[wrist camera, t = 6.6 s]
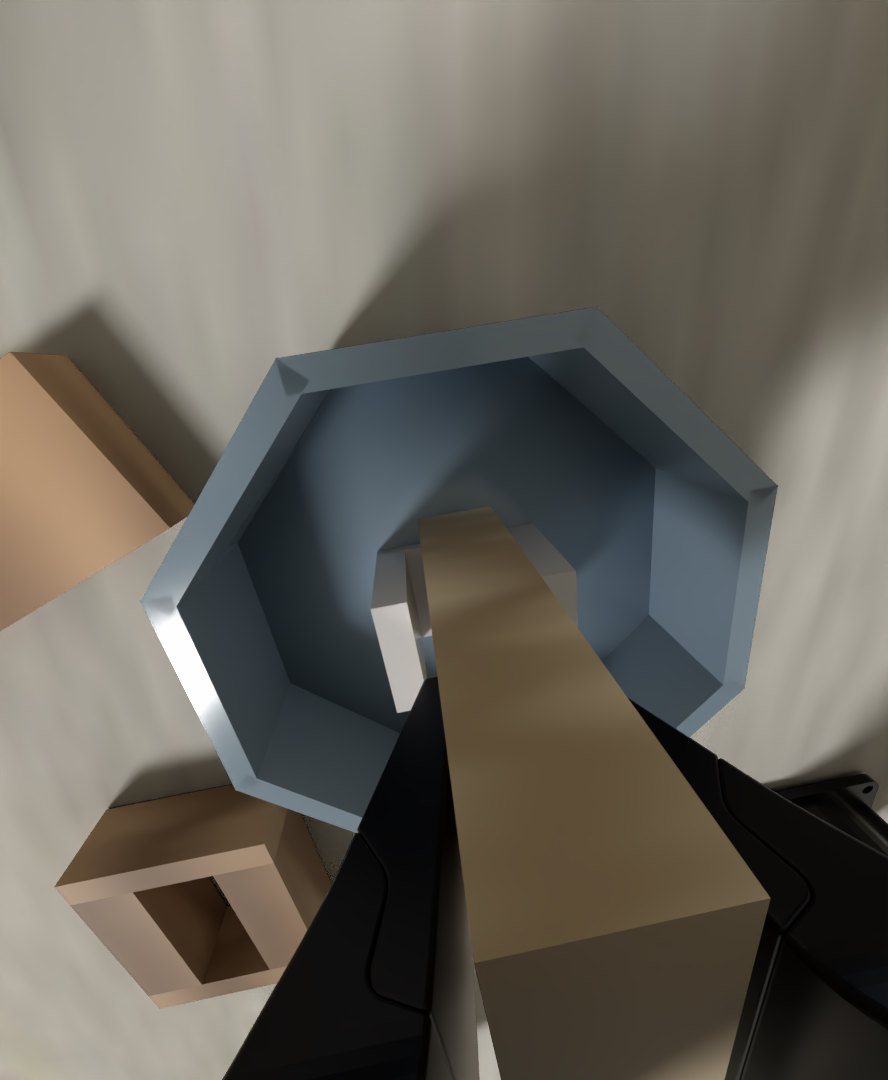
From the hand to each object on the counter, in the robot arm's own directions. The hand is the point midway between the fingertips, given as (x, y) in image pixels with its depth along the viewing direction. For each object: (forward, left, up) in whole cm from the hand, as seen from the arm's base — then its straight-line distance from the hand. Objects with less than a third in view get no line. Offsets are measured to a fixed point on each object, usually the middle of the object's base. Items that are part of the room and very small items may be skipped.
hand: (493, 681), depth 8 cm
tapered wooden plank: (+12, -4, -6) cm, 14 cm away
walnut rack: (+11, +11, -5) cm, 16 cm away
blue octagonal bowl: (0, 0, -5) cm, 5 cm away
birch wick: (0, 0, -4) cm, 4 cm away
